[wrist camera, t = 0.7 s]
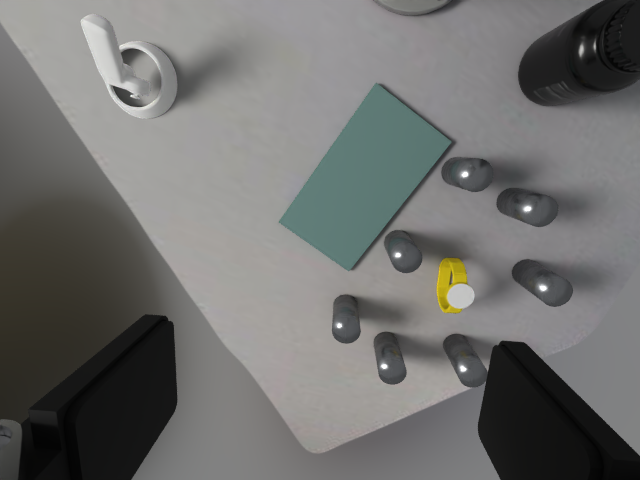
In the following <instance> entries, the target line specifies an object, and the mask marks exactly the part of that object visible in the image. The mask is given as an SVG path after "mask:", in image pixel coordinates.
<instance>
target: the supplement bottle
mask: <svg viewBox="0 0 640 480" xmlns="http://www.w3.org/2000/svg"><path fill="white" fill-rule="evenodd" d="M518 79H519V84H520V87H521V90H522V92H523V93H524V95H525V96H526V97H527V98H528V99H529V100H531V101H532V102H534V103H536V104H539V105H544V106H553V105H559V104H564V103H568V102H573V101H577V100H581V99H586V98H590V97H594V96H599V95H603V94H607V93H611V92H615V91H618V90H621V89H624V88H626V87H628V86H630V85H632V84H634V83H635V82H637V81H638V80H639V79H640V0H603V1H601V2H599V3H597V4H596V5H594V6H592V7H590V8H589V9H587V10H585V11H584V12H582V13H580V14H579V15H577V16H575V17H573V18H572V19H570V20H568V21H567V22H565V23H563V24H562V25H560V26H558V27H557V28H555V29H553V30H552V31H550V32H548V33H546V34H545V35H543V36H542V37H540V38H539V39H537V40H536V41H535V42H534V43H533V44H532V45H531V46H530V47H529V48H528V49H527V51H526V52H525V54H524V56H523V58H522V60H521V62H520V66H519V72H518Z"/></svg>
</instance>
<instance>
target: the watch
mask: <svg viewBox="0 0 640 480" xmlns="http://www.w3.org/2000/svg"><path fill="white" fill-rule="evenodd" d="M451 271H452V274H453V283H452V284H451V285H449V283H450V276H451ZM466 274H467V273H466V270H465V266H464V264H463V263H462V261H461V260H460V259H459V258H444V259H443V260H442V262H441V264H440V265H439V275H438V282H437V297H438V302H439V306H440V308H441V309H442V310H443V312H445V313H460V312H461V311H462V309H463V308H466V307H468V306H469V305H470V304H471V303H472V302H473V300H474V291H473V289H472V288H471V287H470V286H469V285H468V284H467V275H466Z"/></svg>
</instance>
